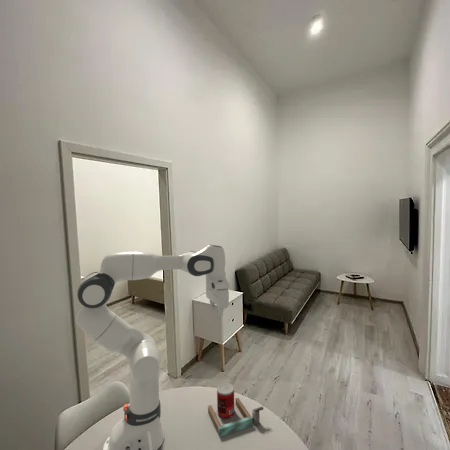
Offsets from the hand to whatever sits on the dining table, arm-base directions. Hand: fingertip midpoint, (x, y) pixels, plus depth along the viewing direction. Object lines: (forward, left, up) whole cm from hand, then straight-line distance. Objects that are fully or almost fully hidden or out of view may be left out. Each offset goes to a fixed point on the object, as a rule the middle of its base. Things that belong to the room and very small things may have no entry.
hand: (216, 312), depth 114 cm
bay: (+7, -3, -46) cm, 47 cm away
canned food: (+4, +1, -46) cm, 46 cm away
